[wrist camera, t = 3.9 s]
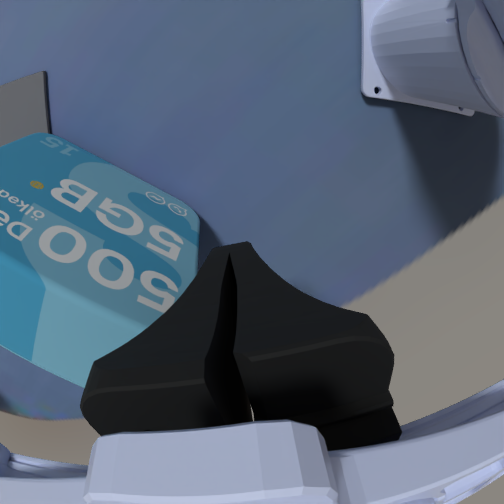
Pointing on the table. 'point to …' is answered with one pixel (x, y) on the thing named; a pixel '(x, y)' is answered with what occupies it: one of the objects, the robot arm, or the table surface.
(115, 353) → the robot arm
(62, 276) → the data package
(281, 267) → the table surface
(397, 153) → the table surface
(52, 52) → the table surface
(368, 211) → the table surface
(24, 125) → the mat
